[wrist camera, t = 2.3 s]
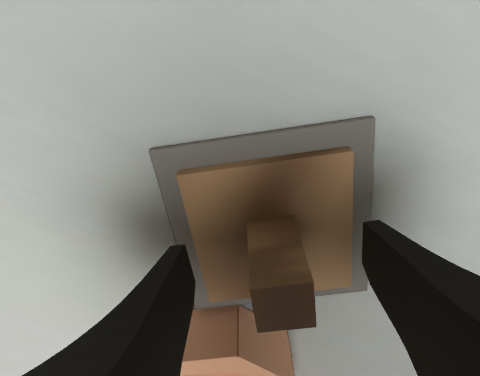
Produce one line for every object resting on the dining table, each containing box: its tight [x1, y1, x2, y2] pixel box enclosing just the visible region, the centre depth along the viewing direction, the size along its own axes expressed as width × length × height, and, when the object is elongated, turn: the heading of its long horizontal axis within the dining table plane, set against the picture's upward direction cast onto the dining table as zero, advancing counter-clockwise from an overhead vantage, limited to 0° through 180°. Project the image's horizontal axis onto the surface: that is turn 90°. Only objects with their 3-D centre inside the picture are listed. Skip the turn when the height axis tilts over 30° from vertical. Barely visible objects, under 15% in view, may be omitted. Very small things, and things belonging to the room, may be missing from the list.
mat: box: [149, 116, 375, 309], centre depth 14 cm, size 9×9×1 cm
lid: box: [176, 146, 354, 333], centre depth 12 cm, size 7×7×5 cm
